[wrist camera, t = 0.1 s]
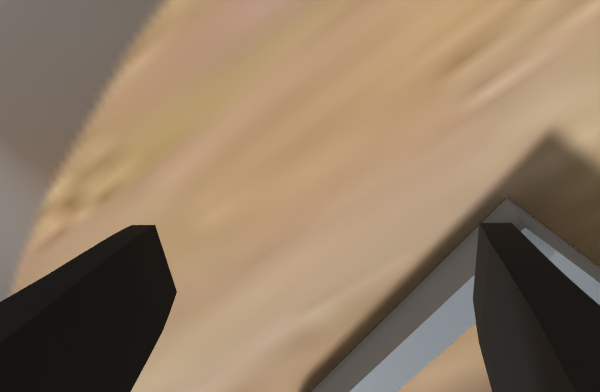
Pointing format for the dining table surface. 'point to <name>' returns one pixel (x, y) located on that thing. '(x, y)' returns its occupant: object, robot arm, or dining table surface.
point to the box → (444, 310)
